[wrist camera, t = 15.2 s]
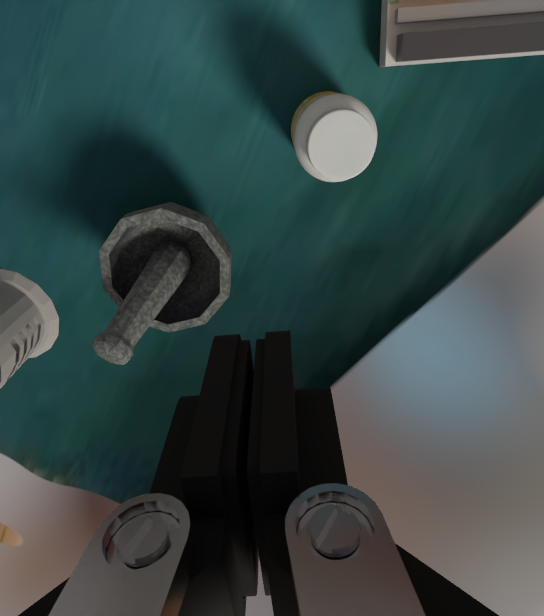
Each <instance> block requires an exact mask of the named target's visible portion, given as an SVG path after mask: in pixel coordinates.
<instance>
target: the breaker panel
mask: <svg viewBox="0 0 544 616" xmlns="http://www.w3.org/2000/svg"><path fill="white" fill-rule="evenodd" d="M532 55H544V0H382V6H381V34H380V62H379V67H389V66H402V65H415V64H428V63H441V62H454V61H467V60H480V59H493V58H506V57H519V56H532Z"/></svg>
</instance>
